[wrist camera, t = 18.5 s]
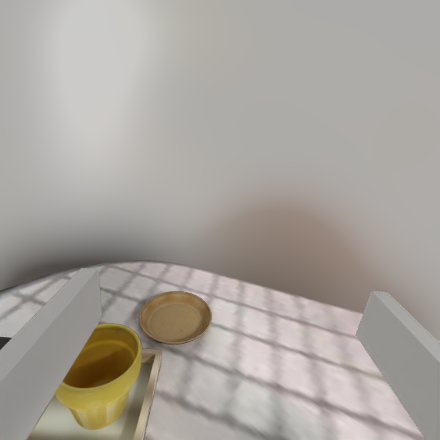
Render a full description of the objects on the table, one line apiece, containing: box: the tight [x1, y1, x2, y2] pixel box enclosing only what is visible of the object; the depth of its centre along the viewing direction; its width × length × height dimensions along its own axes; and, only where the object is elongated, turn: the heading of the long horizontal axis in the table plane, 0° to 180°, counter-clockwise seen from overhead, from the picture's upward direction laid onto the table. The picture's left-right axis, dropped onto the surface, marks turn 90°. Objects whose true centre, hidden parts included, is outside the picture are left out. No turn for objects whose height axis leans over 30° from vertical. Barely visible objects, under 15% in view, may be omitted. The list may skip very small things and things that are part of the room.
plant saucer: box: [139, 291, 212, 345], centre depth 51 cm, size 15×15×3 cm
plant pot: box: [55, 323, 142, 430], centre depth 33 cm, size 10×10×10 cm
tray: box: [26, 348, 162, 440], centre depth 34 cm, size 15×15×3 cm
